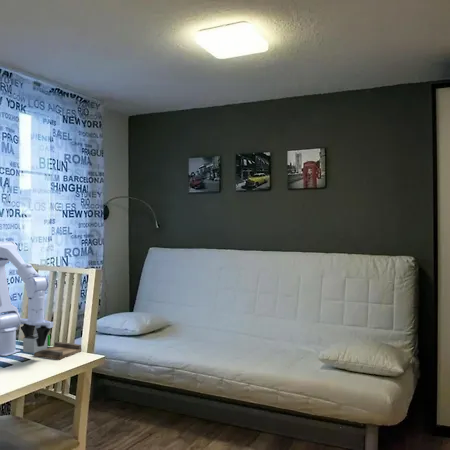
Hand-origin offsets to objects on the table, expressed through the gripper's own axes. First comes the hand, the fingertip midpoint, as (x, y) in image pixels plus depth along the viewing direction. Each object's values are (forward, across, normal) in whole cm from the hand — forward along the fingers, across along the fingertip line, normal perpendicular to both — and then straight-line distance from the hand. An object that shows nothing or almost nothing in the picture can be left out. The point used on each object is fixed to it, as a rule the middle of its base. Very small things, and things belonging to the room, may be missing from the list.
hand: (35, 345), depth 180 cm
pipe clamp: (+6, -12, +17) cm, 22 cm away
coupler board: (+6, +1, +12) cm, 13 cm away
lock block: (+2, 0, 0) cm, 2 cm away
